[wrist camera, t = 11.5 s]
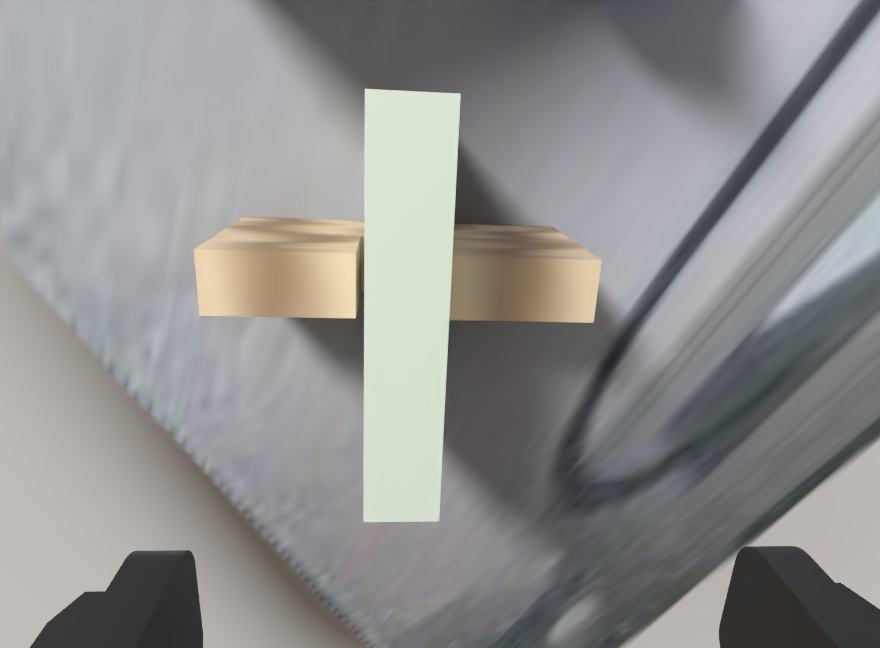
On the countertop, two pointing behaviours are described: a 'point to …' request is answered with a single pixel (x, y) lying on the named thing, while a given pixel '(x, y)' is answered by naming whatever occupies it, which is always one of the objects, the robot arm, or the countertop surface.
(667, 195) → the countertop surface
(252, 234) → the oak u-shaped block
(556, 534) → the countertop surface
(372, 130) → the sage board
